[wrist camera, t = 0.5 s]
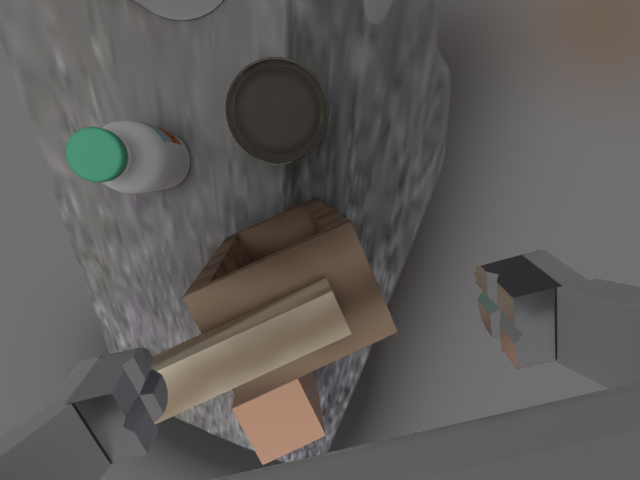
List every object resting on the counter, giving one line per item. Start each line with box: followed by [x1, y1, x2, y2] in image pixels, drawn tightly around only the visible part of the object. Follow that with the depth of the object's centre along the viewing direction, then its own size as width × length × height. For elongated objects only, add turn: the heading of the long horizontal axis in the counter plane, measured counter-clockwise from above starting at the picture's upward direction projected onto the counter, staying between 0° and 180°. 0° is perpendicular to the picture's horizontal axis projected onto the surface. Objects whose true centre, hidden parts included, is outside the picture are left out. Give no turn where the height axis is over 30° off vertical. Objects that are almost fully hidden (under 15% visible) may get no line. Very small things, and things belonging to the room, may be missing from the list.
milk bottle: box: [66, 121, 190, 194], centre depth 42 cm, size 8×8×20 cm
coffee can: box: [226, 57, 329, 165], centre depth 46 cm, size 10×10×14 cm
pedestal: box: [232, 371, 326, 465], centre depth 52 cm, size 8×8×15 cm
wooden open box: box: [182, 198, 397, 405], centre depth 43 cm, size 10×14×26 cm
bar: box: [152, 278, 351, 424], centre depth 29 cm, size 4×19×4 cm, turn 113°
